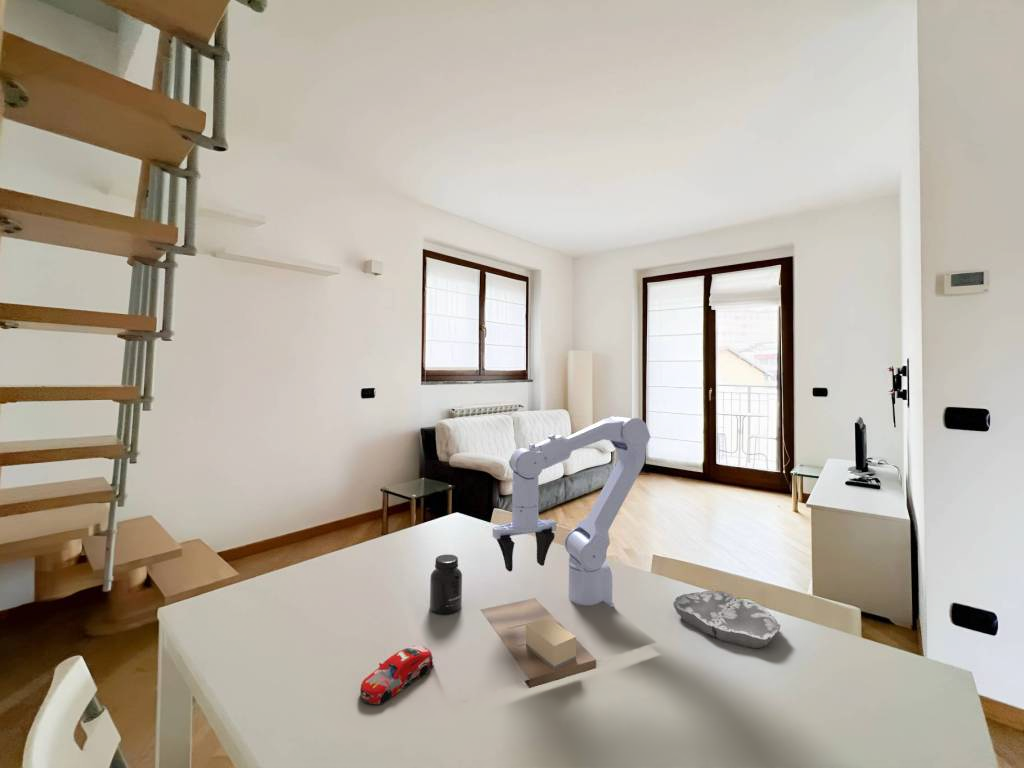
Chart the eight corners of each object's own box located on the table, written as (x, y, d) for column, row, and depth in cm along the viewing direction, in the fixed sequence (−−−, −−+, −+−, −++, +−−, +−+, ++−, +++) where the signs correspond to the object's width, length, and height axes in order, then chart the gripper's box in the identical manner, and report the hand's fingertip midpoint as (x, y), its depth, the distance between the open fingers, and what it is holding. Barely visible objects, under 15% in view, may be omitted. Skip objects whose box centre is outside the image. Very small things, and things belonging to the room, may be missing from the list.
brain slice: (789, 625, 92) (789, 611, 92) (769, 663, 79) (769, 646, 79) (693, 594, 105) (694, 582, 105) (663, 622, 93) (663, 608, 93)
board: (480, 616, 94) (480, 609, 94) (535, 604, 99) (535, 598, 99) (529, 688, 72) (529, 678, 72) (596, 668, 77) (596, 659, 77)
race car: (373, 714, 67) (373, 687, 67) (352, 697, 70) (352, 673, 70) (438, 669, 77) (438, 646, 77) (418, 657, 80) (418, 635, 80)
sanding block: (546, 637, 84) (547, 616, 84) (575, 659, 77) (576, 636, 77) (525, 646, 81) (526, 624, 81) (554, 669, 74) (554, 646, 74)
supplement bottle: (455, 624, 91) (456, 566, 91) (424, 620, 92) (425, 563, 92) (465, 607, 98) (466, 553, 98) (436, 604, 99) (437, 551, 99)
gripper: (546, 496, 103) (545, 555, 103) (487, 503, 97) (487, 564, 97) (561, 504, 96) (560, 566, 96) (499, 511, 90) (499, 578, 90)
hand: (524, 566), depth 96 cm, fingers open, 7 cm apart
